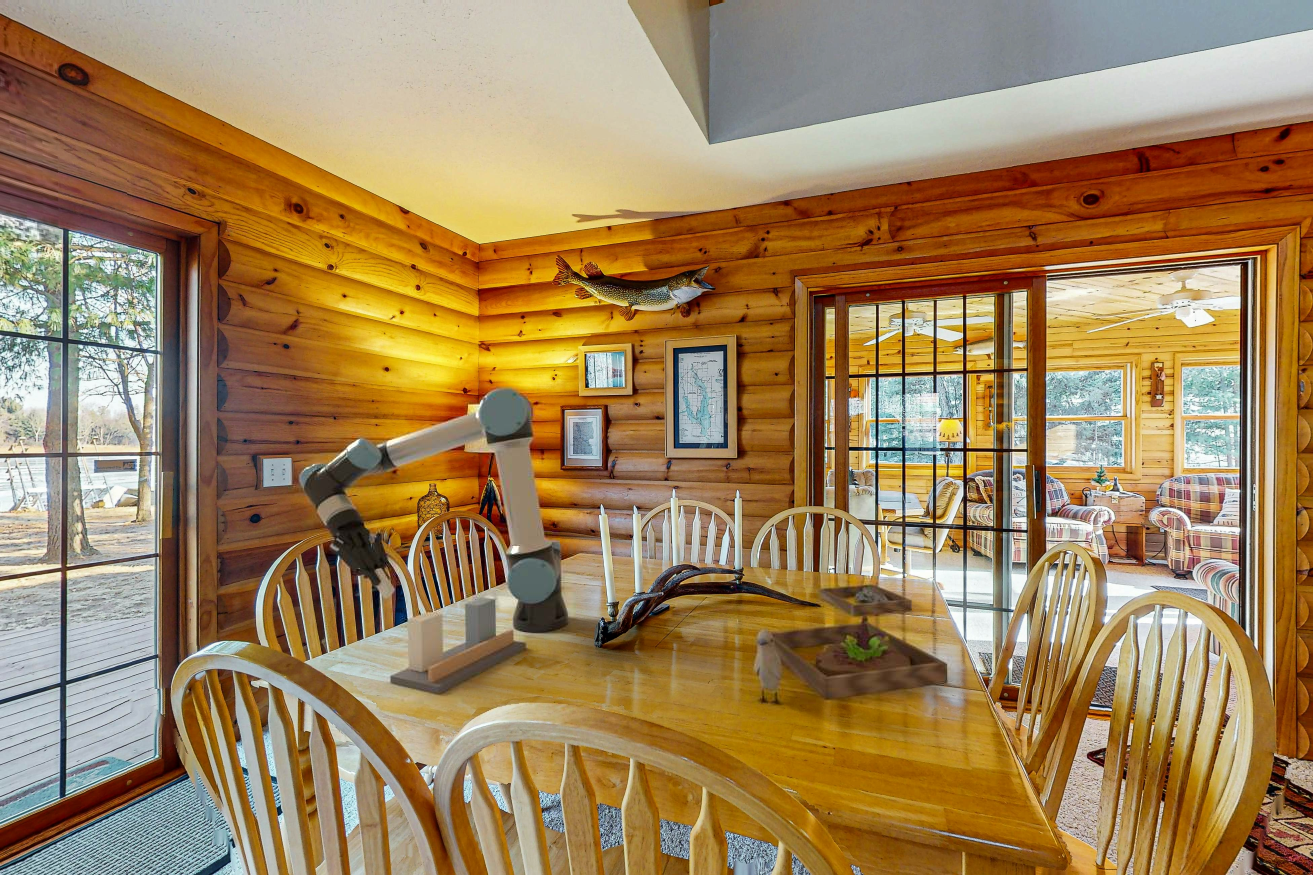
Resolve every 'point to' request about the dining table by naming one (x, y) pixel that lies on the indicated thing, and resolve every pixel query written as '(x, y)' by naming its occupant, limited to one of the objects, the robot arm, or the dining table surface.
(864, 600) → the fossilized seashell
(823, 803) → the dining table surface
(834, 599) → the frame
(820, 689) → the planter frame
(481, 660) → the grey stand base
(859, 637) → the plant
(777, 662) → the bird
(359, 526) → the robot arm
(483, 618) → the grey tall block
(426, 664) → the beige tall block
